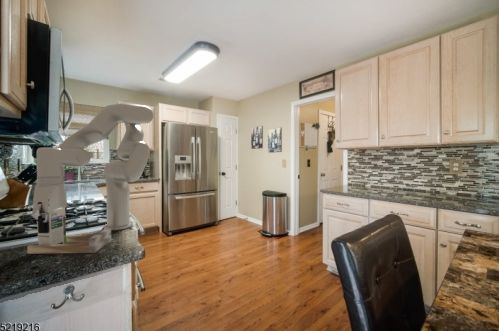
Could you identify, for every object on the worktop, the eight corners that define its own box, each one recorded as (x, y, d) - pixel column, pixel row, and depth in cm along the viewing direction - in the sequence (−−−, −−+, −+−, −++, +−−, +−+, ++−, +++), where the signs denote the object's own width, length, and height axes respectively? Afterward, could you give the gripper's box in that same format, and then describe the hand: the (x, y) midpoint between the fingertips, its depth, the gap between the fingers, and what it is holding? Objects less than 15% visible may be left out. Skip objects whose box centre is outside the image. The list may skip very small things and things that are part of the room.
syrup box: (50, 251, 80) (49, 210, 79) (37, 249, 81) (36, 209, 80) (66, 244, 85) (66, 207, 85) (54, 243, 87) (53, 206, 86)
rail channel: (52, 241, 88) (52, 229, 88) (111, 240, 90) (111, 228, 90) (27, 253, 77) (27, 239, 77) (94, 252, 79) (94, 238, 79)
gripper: (58, 178, 91) (59, 222, 91) (17, 184, 73) (19, 238, 74) (78, 179, 91) (78, 222, 92) (42, 184, 74) (43, 237, 75)
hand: (52, 229), depth 83 cm, fingers closed on syrup box, 6 cm apart
